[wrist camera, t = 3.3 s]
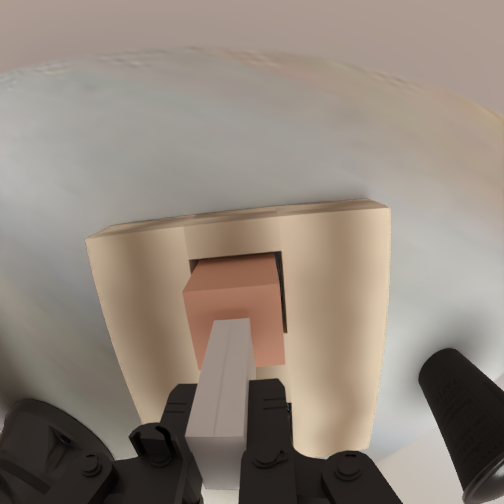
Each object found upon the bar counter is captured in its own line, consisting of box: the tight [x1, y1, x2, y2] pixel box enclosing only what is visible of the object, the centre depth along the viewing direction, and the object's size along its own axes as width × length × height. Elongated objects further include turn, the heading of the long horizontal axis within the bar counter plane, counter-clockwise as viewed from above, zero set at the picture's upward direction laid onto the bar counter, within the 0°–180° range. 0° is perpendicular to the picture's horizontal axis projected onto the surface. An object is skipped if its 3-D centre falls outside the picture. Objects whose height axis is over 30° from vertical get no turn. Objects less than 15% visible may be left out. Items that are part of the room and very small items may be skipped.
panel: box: [85, 199, 391, 458], centre depth 22 cm, size 18×20×4 cm
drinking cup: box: [419, 348, 504, 504], centre depth 15 cm, size 8×8×20 cm
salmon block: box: [182, 252, 285, 370], centre depth 17 cm, size 4×4×5 cm
